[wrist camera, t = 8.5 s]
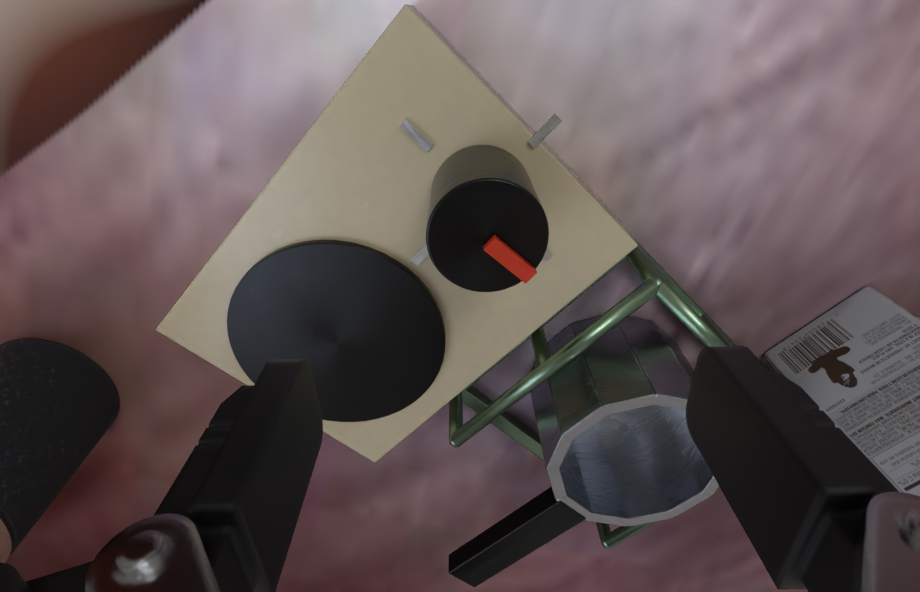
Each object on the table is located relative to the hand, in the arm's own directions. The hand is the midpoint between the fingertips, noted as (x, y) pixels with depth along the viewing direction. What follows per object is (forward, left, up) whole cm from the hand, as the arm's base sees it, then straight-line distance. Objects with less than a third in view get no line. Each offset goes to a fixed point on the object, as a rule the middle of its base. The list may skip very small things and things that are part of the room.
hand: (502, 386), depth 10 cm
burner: (0, +9, -11) cm, 15 cm away
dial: (0, 0, -11) cm, 11 cm away
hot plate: (0, +6, -14) cm, 15 cm away
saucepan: (-13, +7, -14) cm, 21 cm away
